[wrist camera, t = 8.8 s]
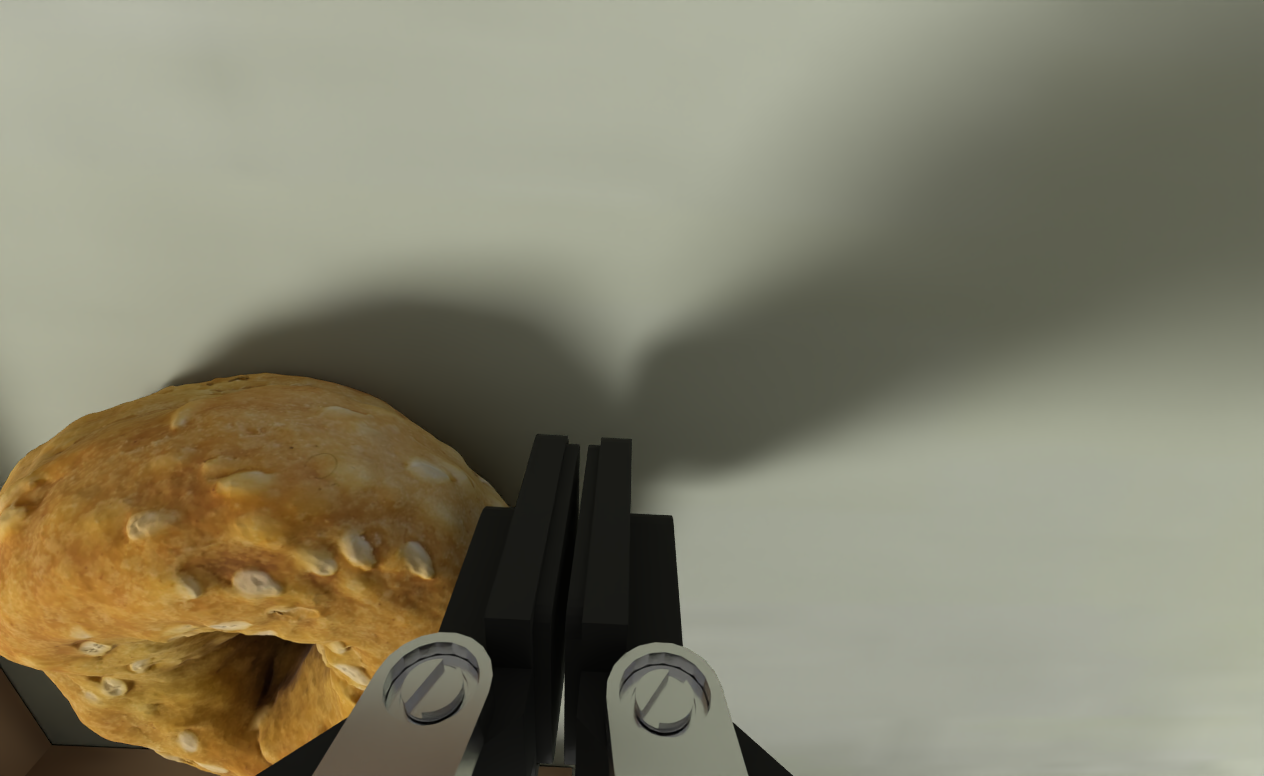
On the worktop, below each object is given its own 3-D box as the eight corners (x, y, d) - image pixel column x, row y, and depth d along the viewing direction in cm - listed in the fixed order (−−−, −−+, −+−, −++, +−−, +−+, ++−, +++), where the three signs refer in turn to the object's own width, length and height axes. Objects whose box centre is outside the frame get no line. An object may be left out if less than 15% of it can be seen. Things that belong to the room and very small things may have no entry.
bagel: (19, 561, 14) (-238, 768, 10) (238, 221, 11) (-23, 321, 6) (378, 736, 17) (300, 948, 13) (641, 523, 14) (647, 722, 10)
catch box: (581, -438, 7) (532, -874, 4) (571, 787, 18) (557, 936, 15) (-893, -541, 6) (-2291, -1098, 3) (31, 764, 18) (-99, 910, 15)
